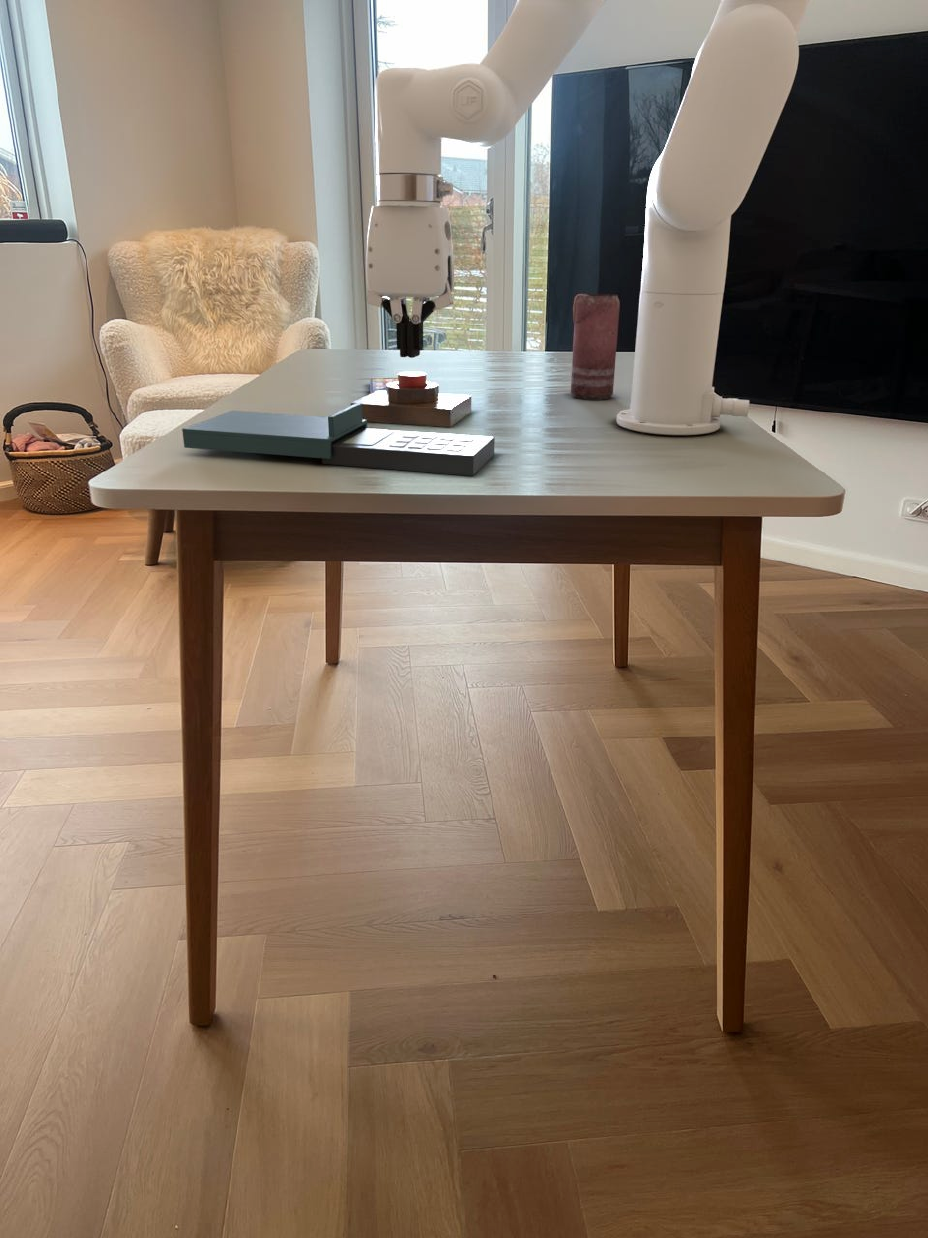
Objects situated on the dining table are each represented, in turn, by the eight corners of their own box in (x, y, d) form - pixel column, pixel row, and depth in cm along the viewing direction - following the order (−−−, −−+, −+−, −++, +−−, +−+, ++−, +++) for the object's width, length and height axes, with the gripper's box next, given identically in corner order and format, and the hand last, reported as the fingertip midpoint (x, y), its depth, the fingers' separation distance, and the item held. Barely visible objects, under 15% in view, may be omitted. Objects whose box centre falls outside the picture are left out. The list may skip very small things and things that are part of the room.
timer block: (471, 412, 115) (471, 381, 114) (450, 427, 106) (450, 393, 105) (378, 406, 118) (377, 376, 117) (351, 420, 109) (349, 388, 108)
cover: (367, 437, 97) (366, 400, 95) (330, 458, 88) (328, 419, 86) (233, 427, 101) (230, 392, 99) (184, 447, 92) (179, 409, 90)
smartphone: (370, 402, 121) (370, 384, 135) (423, 400, 122) (417, 382, 135) (370, 395, 121) (369, 378, 134) (423, 393, 121) (417, 376, 135)
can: (565, 393, 129) (570, 292, 124) (607, 392, 130) (614, 292, 124) (573, 400, 124) (579, 295, 118) (616, 399, 124) (625, 295, 119)
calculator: (494, 455, 93) (494, 435, 92) (473, 476, 85) (473, 455, 85) (354, 445, 97) (354, 426, 96) (322, 464, 89) (320, 443, 88)
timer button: (430, 386, 112) (429, 372, 111) (421, 390, 109) (421, 376, 108) (403, 384, 113) (403, 370, 112) (394, 389, 110) (393, 375, 109)
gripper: (478, 195, 103) (475, 355, 111) (360, 193, 107) (365, 349, 114) (462, 192, 97) (459, 363, 104) (336, 191, 100) (343, 356, 108)
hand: (410, 355), depth 109 cm, fingers closed
